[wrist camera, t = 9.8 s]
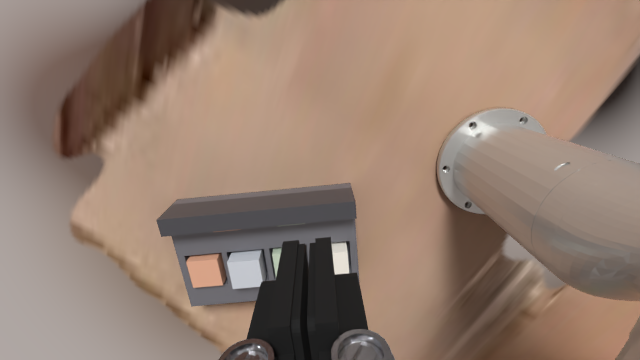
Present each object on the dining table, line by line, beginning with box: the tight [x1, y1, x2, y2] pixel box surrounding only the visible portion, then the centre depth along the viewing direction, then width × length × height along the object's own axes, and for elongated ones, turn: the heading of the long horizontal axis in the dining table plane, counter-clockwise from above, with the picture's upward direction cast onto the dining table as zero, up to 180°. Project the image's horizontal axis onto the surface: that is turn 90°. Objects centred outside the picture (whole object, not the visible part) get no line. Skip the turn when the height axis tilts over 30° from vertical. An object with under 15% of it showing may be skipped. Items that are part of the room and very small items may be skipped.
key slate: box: [227, 249, 267, 289], centre depth 38 cm, size 4×4×2 cm
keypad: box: [157, 183, 359, 306], centre depth 39 cm, size 21×13×6 cm, turn 96°
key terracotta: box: [186, 253, 227, 288], centre depth 39 cm, size 4×4×2 cm
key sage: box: [272, 247, 282, 276], centre depth 39 cm, size 4×4×2 cm
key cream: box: [331, 241, 349, 274], centre depth 38 cm, size 4×4×2 cm
